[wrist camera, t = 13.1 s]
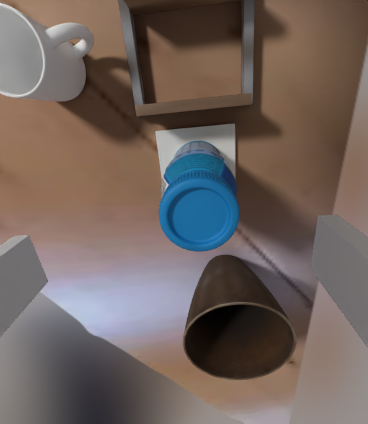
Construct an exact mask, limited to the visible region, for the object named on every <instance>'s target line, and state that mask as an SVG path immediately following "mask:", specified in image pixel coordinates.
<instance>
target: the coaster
mask: <svg viewBox="0 0 368 424" xmlns="http://www.w3.org/2000/svg"><path fill="white" fill-rule="evenodd" d="M155 132H156V139H157V147H158V154H159V162H160V169H161V177H162V179H163V176H164V173H165V170H166V168H167V166H168V165H169V163H170V162H171V161H172V159H173V158H174V156H175V154H176V152H177V151H178V150H179V149H180V148H181V147H182V146H183V145H185V144H186V143H188V142H191V141H205V142H208V143H210V144H212V145H214V146H215V147H216V148H217V149H218V150H219V152H220V153H221V155H222V157H223V158H224V159H225V160H226V161H227V163H228V164H229V166H230V167H231V170H232V172H233V175H234V177H235V123H233V124H223V125H212V126H202V127H192V128H181V129H171V130H160V131H155Z"/></svg>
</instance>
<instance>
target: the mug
mask: <svg viewBox="0 0 368 424" xmlns="http://www.w3.org/2000/svg"><path fill="white" fill-rule="evenodd" d="M76 38H80V39H82V40H81V41H80V42H79V43H78V44H76V45H73V44H72V43H71V42H70V41H68V40H71V39H76ZM93 44H94V37H93V34H92V32H91V31H90V30H89V29H88V28H87V27H85V26H84V25H82V24H78V23H63V24H59V25H56V26H53V27H51V28H47V27H46V26H44V25H42V24H40V23H39V22H37V21H35V20H33V19H32V18H30V17H28V16H26V15H25V14H23V13H21V12H19V11H18V10H16V9H14V8H12V7H10V6H8V5H5V4H2V3H0V93H1V94H3V95H5V96H8V97H13V98H24V99H36V100H47V101H60V102H61V101H69V100H72V99H74V98H75V97H77V96H78V95H79V94H80V93H81V91H82V90H83V87H84V85H85V80H86V69H85V64H84V61H83V59H82V57H83V56H85V55H86V54H87V53H88V52H89V51H90V50H91V48H92V47H93Z"/></svg>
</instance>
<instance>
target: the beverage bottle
mask: <svg viewBox="0 0 368 424" xmlns="http://www.w3.org/2000/svg"><path fill="white" fill-rule="evenodd" d="M236 194H237V185H236V180H235V177H234V175H233V172H232V170H231V167H230V166H229V164H228V163H227V161H226V160H225V159H224V158H223V157H222V155H221V153H220V152H219V150H218V149H217V148H216V147H215V146H214V145H212V144H210V143H208V142H205V141H191V142H188V143H186V144H185V145H183V146H182V147H181V148H180V149H179V150H178V151H177V152H176V154H175V156H174V158H173V159H172V161H171V162H170V163H169V165H168V166H167V168H166V170H165V173H164V176H163V179H162V183H161V198H162V199H161V202H160V206H159V207H160V208H159V219H160V224H161V227H162V229H163V231H164V233H165V235H166V236H167V237H168V238H169V239H170V240H171V241H172V242H173V243H174V244H176V245H177V246H179V247H181V248H184V249H186V250H190V251H208V250H212V249H215V248H217V247H219V246H221V245H222V244H224V243H225V242H226V241H228V240H229V239H230V238H231V236H232V235H233V234H234V232H235V230H236V228H237V225H238V222H239V214H240V213H239V211H240V210H239V206H238V205H239V204H238V201H237V198H236Z"/></svg>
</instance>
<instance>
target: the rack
mask: <svg viewBox="0 0 368 424" xmlns="http://www.w3.org/2000/svg"><path fill="white" fill-rule="evenodd" d="M233 1H240V0H118V3H119V9H120V16H121V22H122V28H123V34H124V41H125V47H126V53H127V60H128V66H129V72H130V78H131V85H132V91H133V97H134V103H135V110H136V116H148V115H158V114H168V113H177V112H187V111H197V110H207V109H217V108H226V107H236V106H246V105H253V55H254V4H255V0H241V94H238V95H228V96H219V97H209V98H200V99H190V100H181V101H172V102H162V103H153V104H146V102H145V95H144V88H143V81H142V74H141V67H140V60H139V53H138V46H137V39H136V32H135V25H134V17H133V15H139V14H146V13H154V12H161V11H168V10H175V9H182V8H189V7H197V6H204V5H211V4H218V3H225V2H233Z"/></svg>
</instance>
